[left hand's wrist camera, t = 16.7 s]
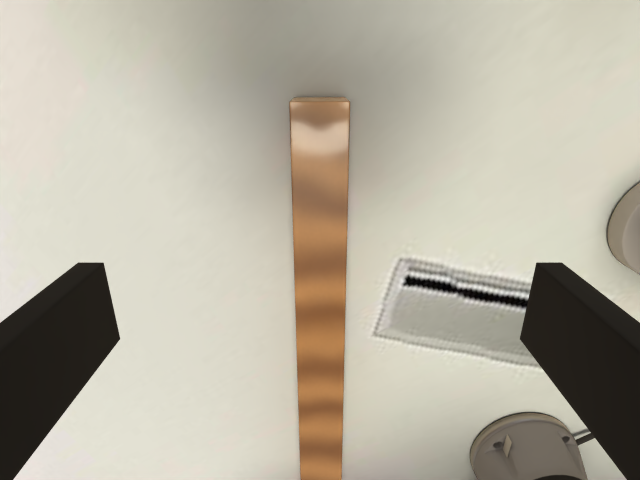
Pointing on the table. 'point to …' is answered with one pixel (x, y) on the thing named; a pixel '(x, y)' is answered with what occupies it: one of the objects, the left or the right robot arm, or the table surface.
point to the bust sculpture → (626, 230)
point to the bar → (320, 276)
